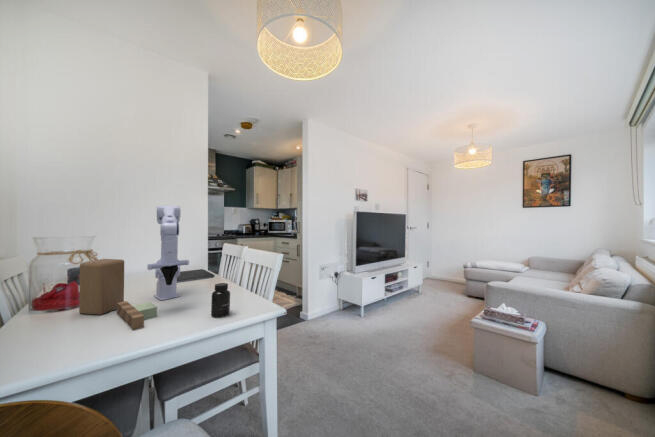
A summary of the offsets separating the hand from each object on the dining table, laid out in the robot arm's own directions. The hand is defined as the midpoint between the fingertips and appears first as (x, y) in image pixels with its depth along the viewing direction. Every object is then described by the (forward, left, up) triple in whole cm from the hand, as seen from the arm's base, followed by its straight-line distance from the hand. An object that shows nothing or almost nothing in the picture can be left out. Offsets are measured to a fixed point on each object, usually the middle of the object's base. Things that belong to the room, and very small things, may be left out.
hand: (168, 284), depth 102 cm
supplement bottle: (+20, +12, -11) cm, 26 cm away
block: (-19, -17, -11) cm, 28 cm away
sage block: (0, -8, -11) cm, 14 cm away
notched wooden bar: (0, -13, -10) cm, 17 cm away
